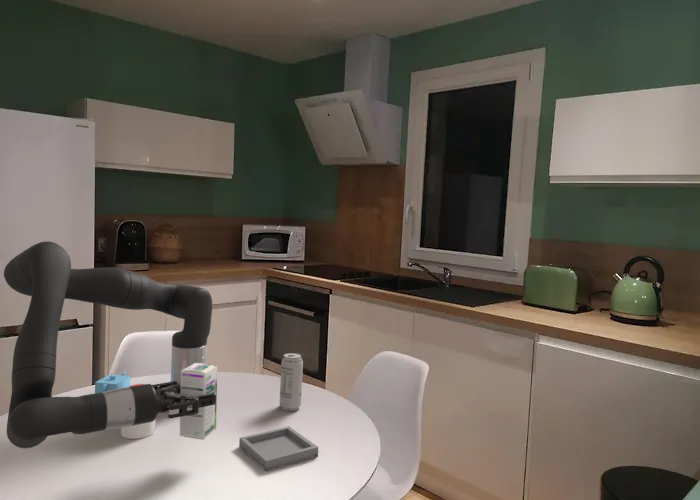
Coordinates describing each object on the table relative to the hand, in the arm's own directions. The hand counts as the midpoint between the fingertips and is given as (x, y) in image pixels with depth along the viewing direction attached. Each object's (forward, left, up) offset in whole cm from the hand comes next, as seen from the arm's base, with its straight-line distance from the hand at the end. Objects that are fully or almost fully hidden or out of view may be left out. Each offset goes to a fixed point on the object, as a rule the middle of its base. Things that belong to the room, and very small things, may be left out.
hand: (207, 392), depth 113 cm
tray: (+4, +16, -15) cm, 22 cm away
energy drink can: (-18, +32, -15) cm, 40 cm away
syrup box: (0, -2, -9) cm, 9 cm away
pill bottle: (-22, -8, -16) cm, 28 cm away
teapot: (-46, -8, -16) cm, 49 cm away
